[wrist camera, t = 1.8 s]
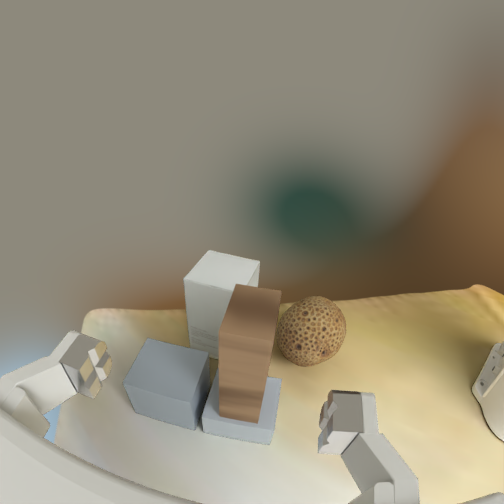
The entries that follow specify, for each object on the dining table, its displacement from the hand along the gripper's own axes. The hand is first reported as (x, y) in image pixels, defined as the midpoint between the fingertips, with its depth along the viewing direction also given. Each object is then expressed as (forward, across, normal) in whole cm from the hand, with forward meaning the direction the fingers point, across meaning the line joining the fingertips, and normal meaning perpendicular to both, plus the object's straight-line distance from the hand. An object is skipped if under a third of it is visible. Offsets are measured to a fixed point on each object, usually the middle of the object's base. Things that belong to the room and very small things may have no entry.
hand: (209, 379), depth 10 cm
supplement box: (+24, +5, +24) cm, 34 cm away
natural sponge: (+23, -7, +24) cm, 34 cm away
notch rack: (+12, +4, +24) cm, 27 cm away
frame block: (+12, 0, +20) cm, 24 cm away
